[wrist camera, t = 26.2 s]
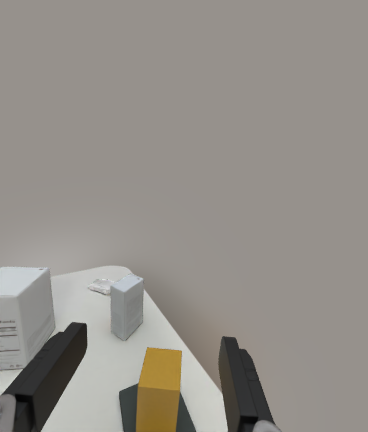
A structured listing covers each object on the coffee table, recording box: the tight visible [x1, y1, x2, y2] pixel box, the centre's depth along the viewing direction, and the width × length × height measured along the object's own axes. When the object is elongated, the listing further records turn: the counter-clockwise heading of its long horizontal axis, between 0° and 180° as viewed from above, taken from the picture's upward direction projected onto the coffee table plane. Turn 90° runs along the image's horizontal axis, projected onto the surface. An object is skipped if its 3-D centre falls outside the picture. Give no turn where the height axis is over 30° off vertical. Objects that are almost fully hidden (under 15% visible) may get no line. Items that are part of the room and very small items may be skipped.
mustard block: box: [136, 347, 182, 432], centre depth 25 cm, size 5×5×10 cm
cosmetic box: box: [110, 274, 144, 341], centre depth 41 cm, size 6×4×12 cm
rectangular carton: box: [0, 267, 55, 370], centre depth 34 cm, size 9×9×15 cm
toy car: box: [88, 279, 115, 294], centre depth 55 cm, size 5×8×2 cm, turn 72°
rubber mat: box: [119, 384, 196, 432], centre depth 26 cm, size 12×9×1 cm
